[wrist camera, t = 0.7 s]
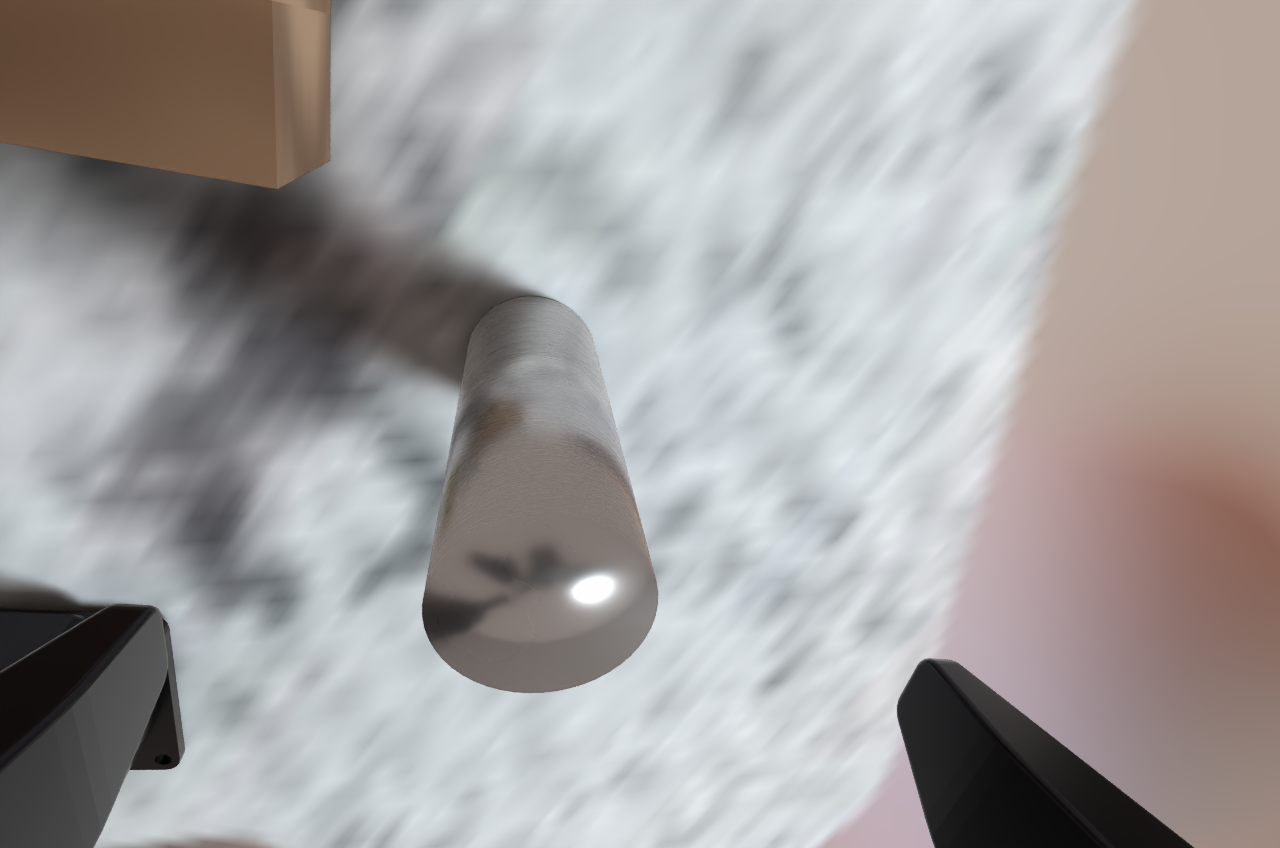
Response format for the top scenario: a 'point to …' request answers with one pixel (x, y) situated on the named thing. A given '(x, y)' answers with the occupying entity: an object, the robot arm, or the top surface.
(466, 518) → the grey metal peg
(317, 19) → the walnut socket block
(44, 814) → the robot arm
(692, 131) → the top surface
